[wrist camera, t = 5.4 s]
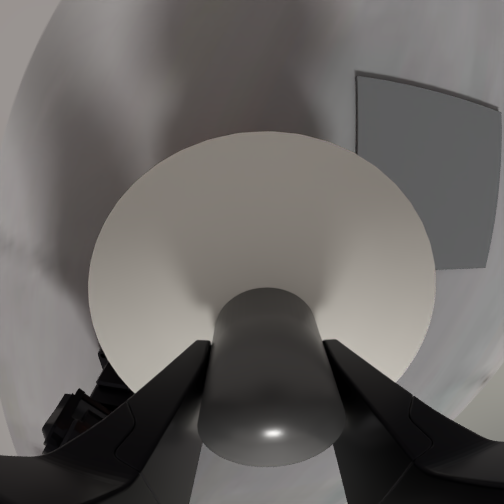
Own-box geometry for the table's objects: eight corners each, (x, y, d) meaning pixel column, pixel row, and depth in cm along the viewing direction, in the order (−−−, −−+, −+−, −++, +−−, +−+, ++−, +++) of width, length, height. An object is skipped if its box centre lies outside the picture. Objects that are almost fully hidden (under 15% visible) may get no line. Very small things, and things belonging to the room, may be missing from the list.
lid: (384, 416, 12) (414, 494, 8) (134, 418, 12) (106, 498, 8) (445, 151, 8) (553, 168, 4) (79, 146, 8) (-31, 158, 4)
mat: (483, 266, 20) (485, 267, 20) (347, 270, 20) (348, 272, 20) (498, 112, 16) (501, 112, 16) (355, 76, 16) (357, 75, 16)
